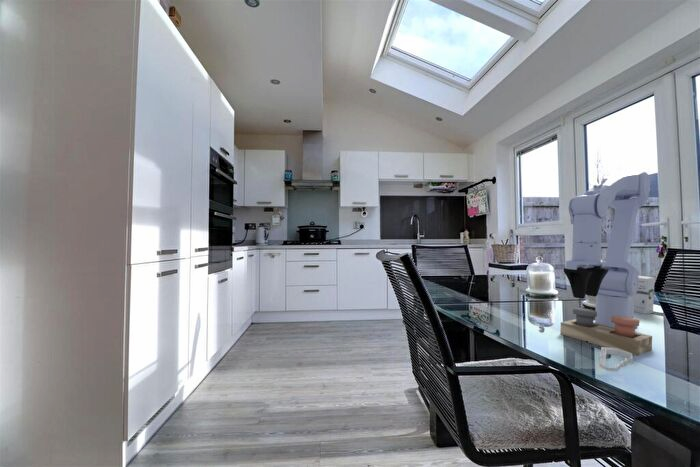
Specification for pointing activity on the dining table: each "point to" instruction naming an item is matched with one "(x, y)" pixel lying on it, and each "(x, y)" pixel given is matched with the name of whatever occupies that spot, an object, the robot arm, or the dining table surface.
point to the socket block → (607, 337)
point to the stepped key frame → (615, 351)
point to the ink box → (644, 295)
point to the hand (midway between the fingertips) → (585, 296)
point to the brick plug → (625, 325)
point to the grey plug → (584, 316)
